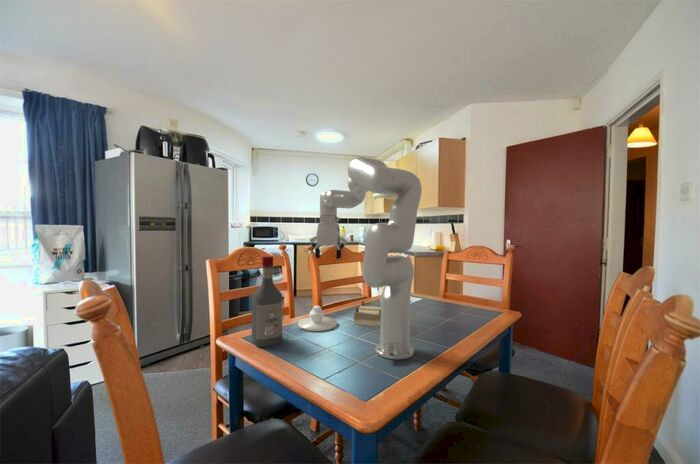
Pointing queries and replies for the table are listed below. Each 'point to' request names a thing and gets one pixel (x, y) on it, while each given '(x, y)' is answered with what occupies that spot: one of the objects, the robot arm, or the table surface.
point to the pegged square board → (367, 315)
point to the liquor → (267, 309)
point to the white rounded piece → (316, 314)
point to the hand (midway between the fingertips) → (328, 258)
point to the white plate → (317, 324)
